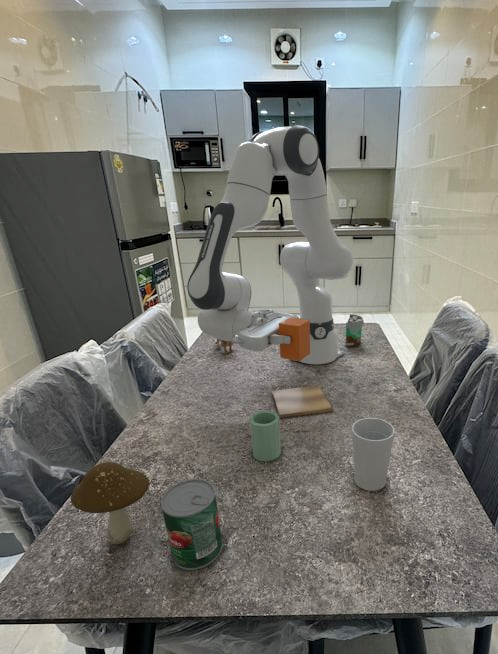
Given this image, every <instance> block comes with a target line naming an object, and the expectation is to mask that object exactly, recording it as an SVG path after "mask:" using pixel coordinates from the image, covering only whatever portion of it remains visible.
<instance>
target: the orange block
mask: <svg viewBox="0 0 498 654" xmlns="http://www.w3.org/2000/svg"><path fill="white" fill-rule="evenodd" d="M279 335H291V336H292V342H291V343H289V344H285V343H282V344H279V355H280V359H286V360H290V359H291V360H290V361H293V360H296V361H295V362H299V361H301V360H302V359H304V358H305V357H306V356H308V355H309V354H310V320H307V319H300V317H299V318H292V317H290V318H288V319H286V320H284V321H282V322H280V323H279Z"/></svg>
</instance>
